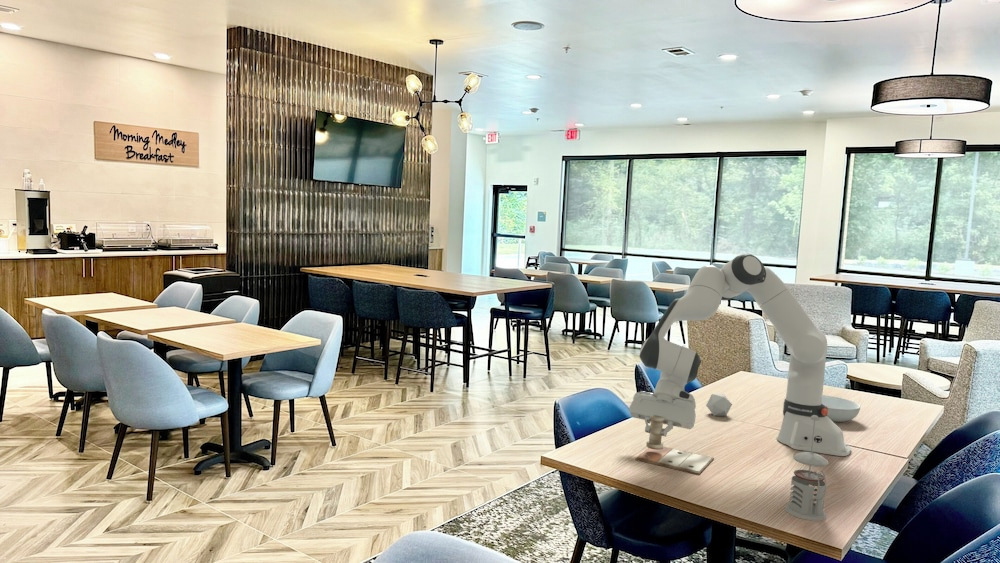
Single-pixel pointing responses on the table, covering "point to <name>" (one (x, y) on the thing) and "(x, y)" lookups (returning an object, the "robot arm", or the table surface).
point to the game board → (676, 459)
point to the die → (719, 405)
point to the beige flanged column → (655, 433)
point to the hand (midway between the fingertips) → (655, 433)
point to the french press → (805, 493)
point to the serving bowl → (840, 408)
